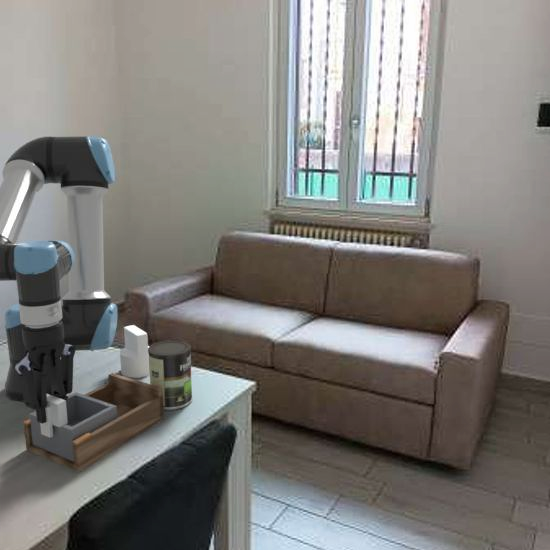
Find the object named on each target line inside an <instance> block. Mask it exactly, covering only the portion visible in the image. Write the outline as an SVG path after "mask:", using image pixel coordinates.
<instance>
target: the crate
mask: <svg viewBox="0 0 550 550" xmlns="http://www.w3.org/2000/svg"><path fill="white" fill-rule="evenodd" d="M67 396H68V399H67V400H63V399H60V398H58V397H55V396H52V395H49V394H47V405H48V406H50V407H51V417H52V427H53V437H51V438H49V437H47V436H45V435H42V434H41V426H40V423H39V422H38V421H37V417H36V416H37V415H36V410H35V411H33V412H30V413H29V419H30V423H31V432H32V442H33V445H35V446H38V447H40V448H42V449H45V450H47V451H49V452H52V453H54V454H57V455H59V456H61V457H64V458H66V459H68V460H71V461H73V462H74V456H73V445H72V441H74V440H76V439H77V438H79V437H81V436H83V435H85V434H86V433H92V432H93V431H95V430H97V429H99V428H101V427H102V426H104V425H106V424H108V423H110V422H111V421H113V420H115V419H117V406H115V405H112V404H109V403H106V402H103V401H100V400H97V399H95V398H92V397H89V396H86V395H84V394H82V393H79V392H77V391H76V392H72V393H70V394H69V395H67Z"/></svg>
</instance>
